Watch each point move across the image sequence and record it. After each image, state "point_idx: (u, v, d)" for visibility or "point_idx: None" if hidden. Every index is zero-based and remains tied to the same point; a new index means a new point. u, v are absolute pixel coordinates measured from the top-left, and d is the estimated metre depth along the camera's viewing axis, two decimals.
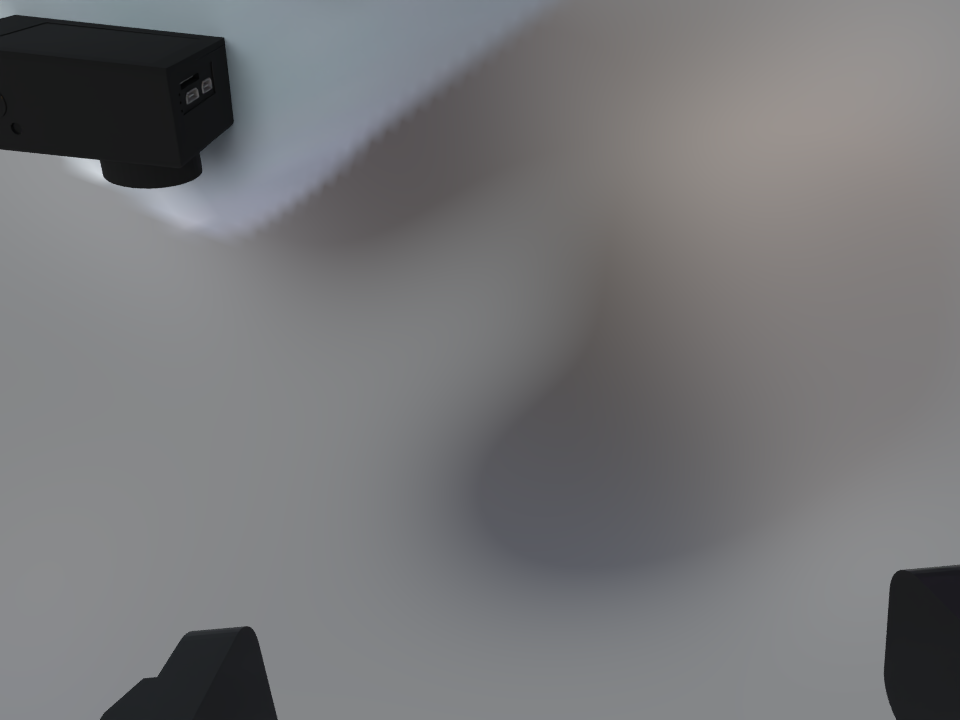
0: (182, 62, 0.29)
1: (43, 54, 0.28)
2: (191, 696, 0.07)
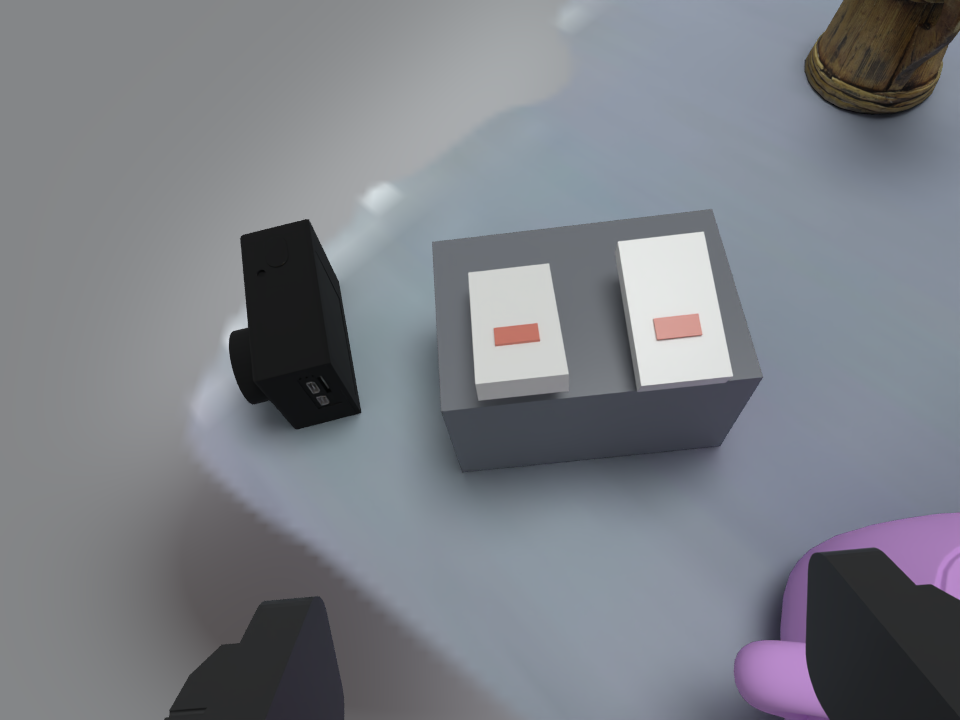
0: (337, 376, 0.38)
1: (319, 288, 0.39)
2: (276, 657, 0.08)
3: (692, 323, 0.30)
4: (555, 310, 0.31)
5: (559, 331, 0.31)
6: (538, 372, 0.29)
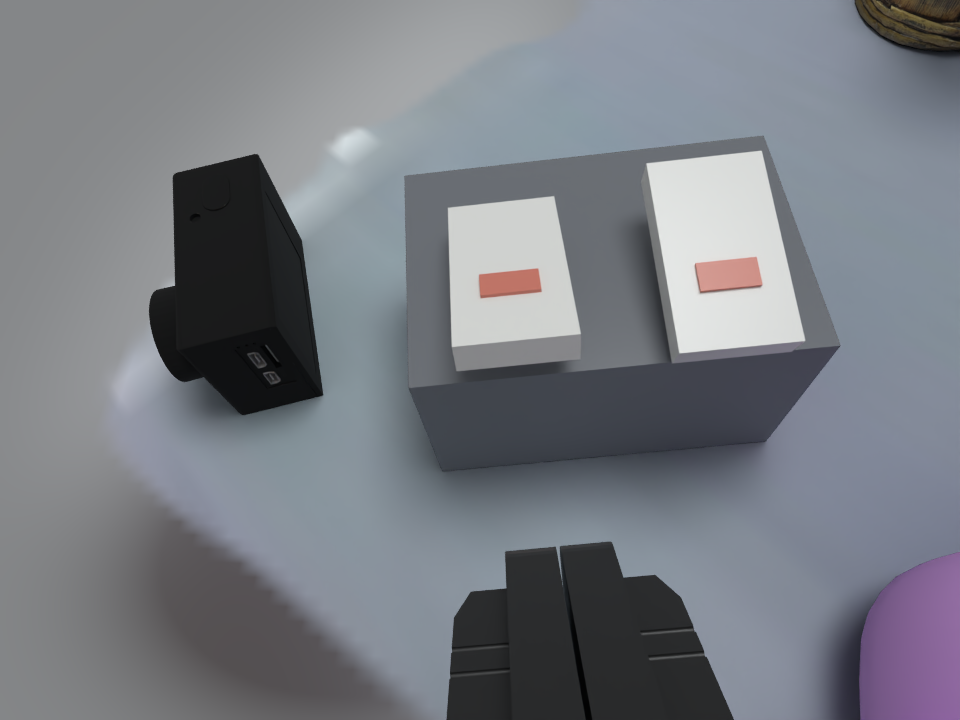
0: (286, 346, 0.30)
1: (267, 235, 0.31)
2: (551, 597, 0.08)
3: (748, 270, 0.22)
4: (562, 253, 0.23)
5: (568, 279, 0.23)
6: (539, 331, 0.21)
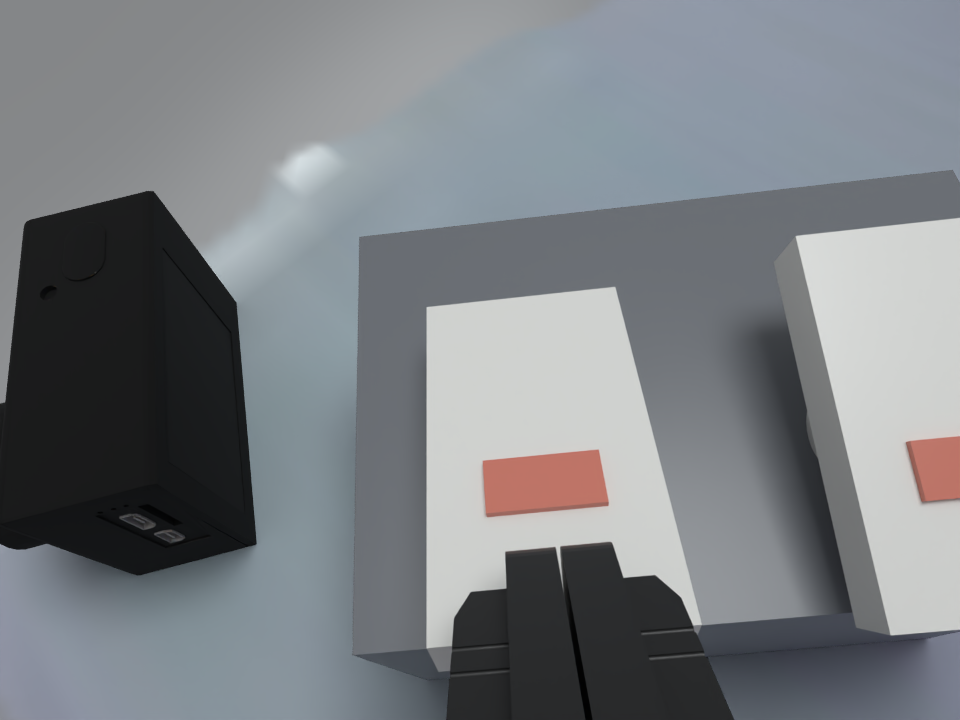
0: (182, 503, 0.19)
1: (156, 322, 0.20)
2: (551, 597, 0.08)
3: None
4: (642, 411, 0.12)
5: (659, 475, 0.11)
6: None
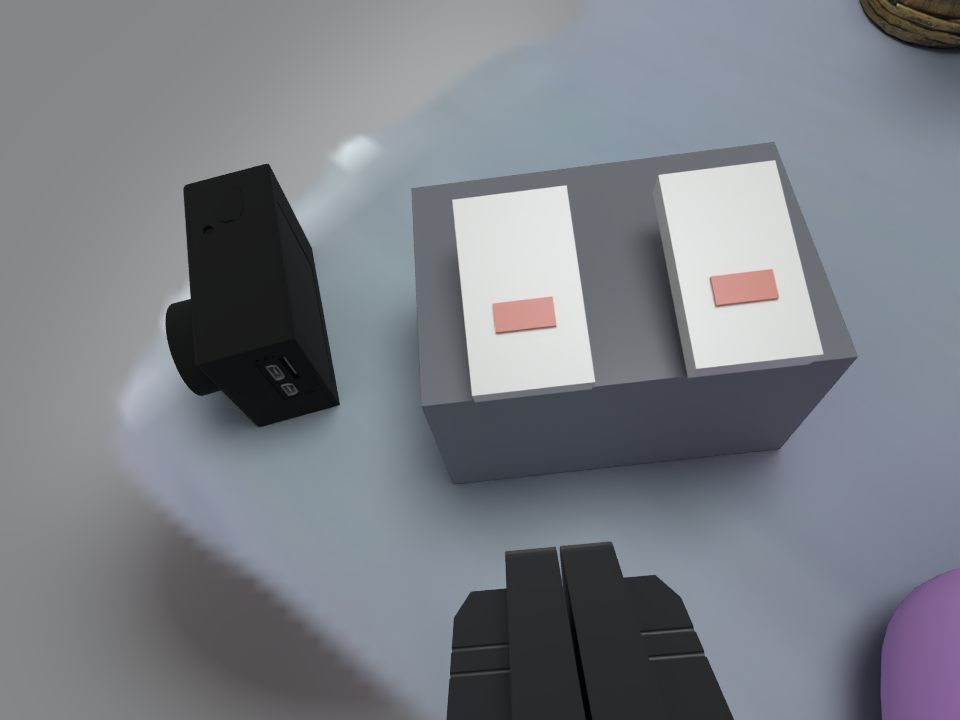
0: (305, 357, 0.30)
1: (281, 246, 0.31)
2: (551, 597, 0.08)
3: (764, 282, 0.22)
4: (576, 272, 0.23)
5: (582, 309, 0.23)
6: (555, 378, 0.22)
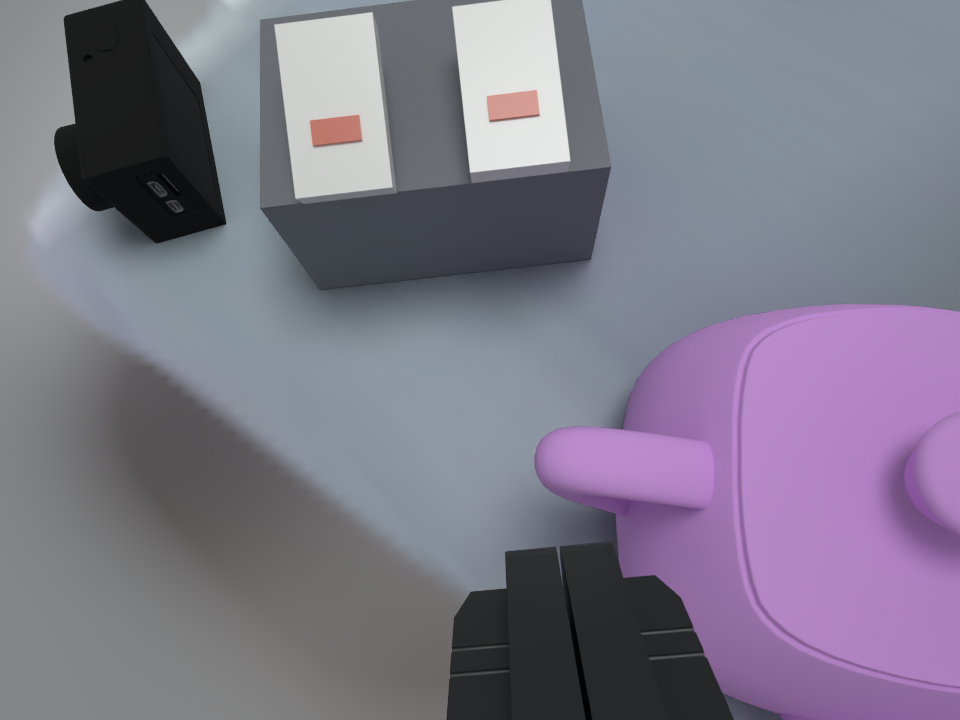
0: (181, 175, 0.34)
1: (154, 74, 0.34)
2: (551, 597, 0.08)
3: (529, 101, 0.27)
4: (379, 93, 0.28)
5: (383, 126, 0.28)
6: (361, 184, 0.28)
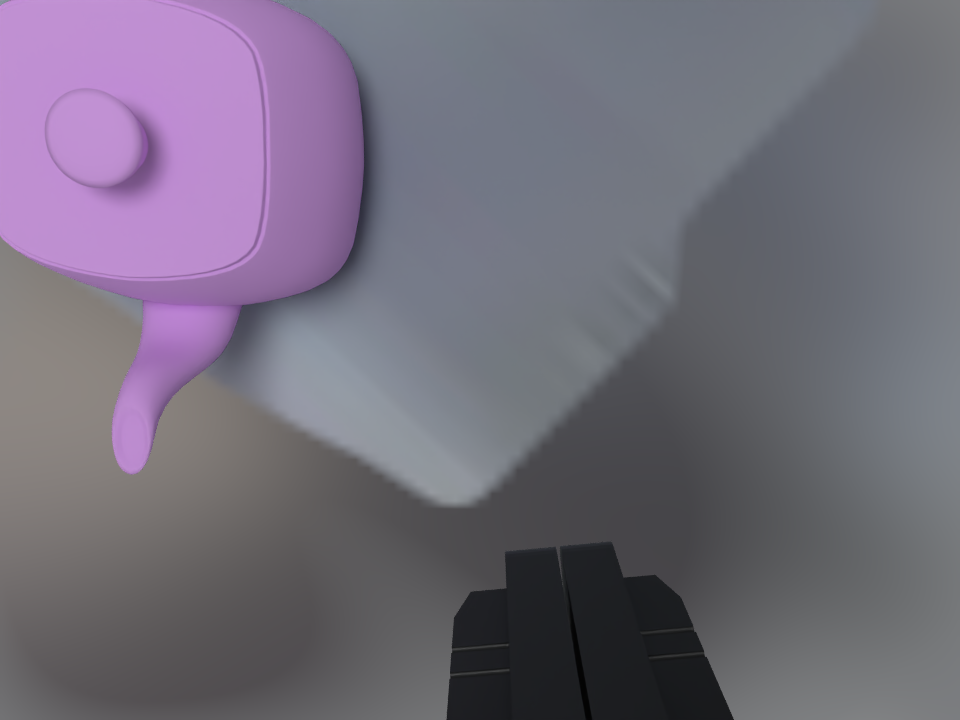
0: None
1: None
2: (551, 598, 0.08)
3: None
4: None
5: None
6: None
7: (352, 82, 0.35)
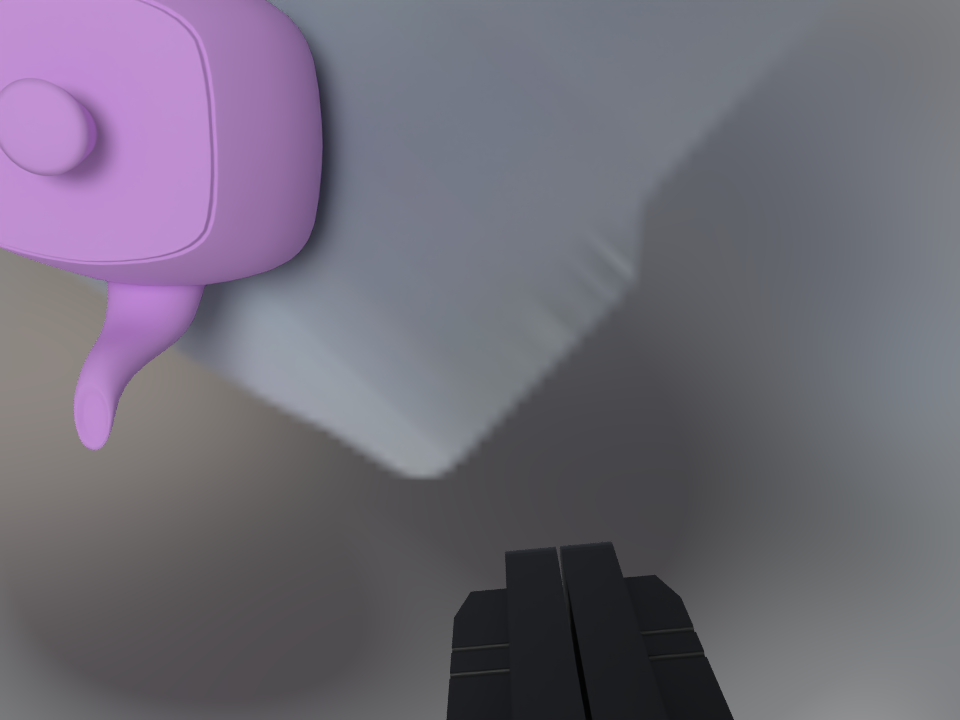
0: None
1: None
2: (551, 597, 0.08)
3: None
4: None
5: None
6: None
7: (307, 63, 0.36)
